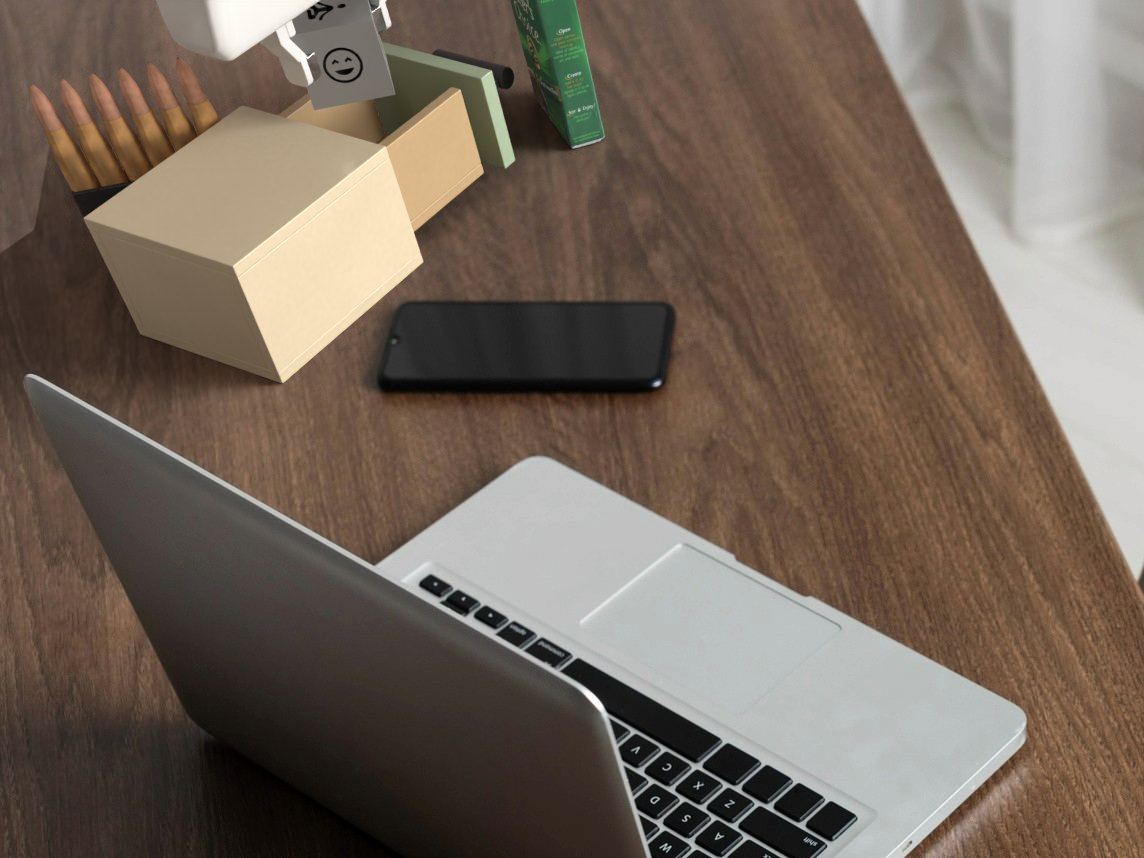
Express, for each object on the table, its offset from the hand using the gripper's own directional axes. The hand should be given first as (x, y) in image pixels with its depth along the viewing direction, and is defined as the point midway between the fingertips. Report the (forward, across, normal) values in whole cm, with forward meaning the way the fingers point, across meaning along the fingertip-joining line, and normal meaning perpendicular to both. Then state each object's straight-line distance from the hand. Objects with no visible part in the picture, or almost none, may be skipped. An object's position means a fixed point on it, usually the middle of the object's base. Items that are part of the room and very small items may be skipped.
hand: (341, 55), depth 108 cm
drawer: (+10, -3, 0) cm, 11 cm away
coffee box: (+12, -14, +4) cm, 19 cm away
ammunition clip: (+11, +9, -10) cm, 17 cm away
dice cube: (+2, 0, 0) cm, 2 cm away
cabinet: (+11, +11, 0) cm, 16 cm away
